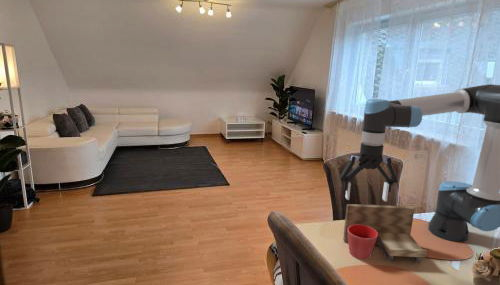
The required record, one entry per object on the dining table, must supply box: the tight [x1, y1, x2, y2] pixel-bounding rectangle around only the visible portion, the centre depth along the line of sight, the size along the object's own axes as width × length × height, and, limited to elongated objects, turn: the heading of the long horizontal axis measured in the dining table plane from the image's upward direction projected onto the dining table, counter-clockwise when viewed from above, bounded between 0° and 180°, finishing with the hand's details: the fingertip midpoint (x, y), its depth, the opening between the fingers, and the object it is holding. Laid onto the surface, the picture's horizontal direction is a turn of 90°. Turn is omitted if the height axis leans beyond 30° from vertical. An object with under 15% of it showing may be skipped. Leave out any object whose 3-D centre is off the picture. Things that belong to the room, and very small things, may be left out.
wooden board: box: [342, 203, 415, 243], centre depth 129 cm, size 26×2×16 cm, turn 88°
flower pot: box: [347, 224, 378, 260], centre depth 121 cm, size 11×11×10 cm
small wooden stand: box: [377, 233, 428, 263], centre depth 122 cm, size 13×14×6 cm
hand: (365, 199), depth 117 cm, fingers open, 13 cm apart
